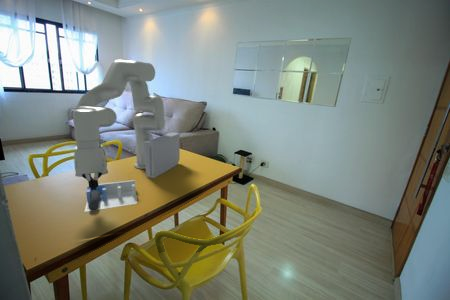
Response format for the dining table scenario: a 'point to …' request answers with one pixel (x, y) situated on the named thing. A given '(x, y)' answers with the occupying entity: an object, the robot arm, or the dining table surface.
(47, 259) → the dining table surface
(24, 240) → the dining table surface
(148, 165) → the game console
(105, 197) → the white holder rack
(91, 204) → the cylinder
